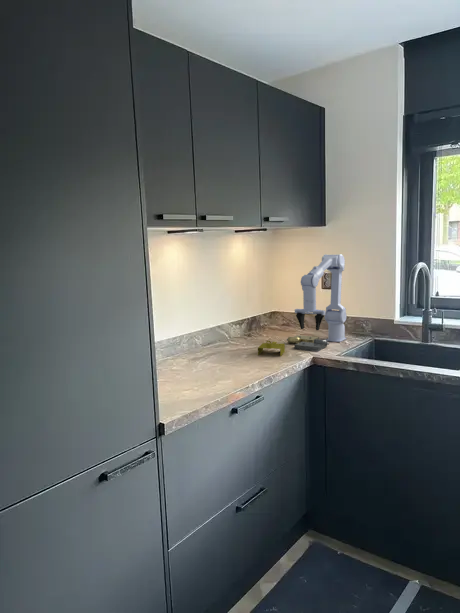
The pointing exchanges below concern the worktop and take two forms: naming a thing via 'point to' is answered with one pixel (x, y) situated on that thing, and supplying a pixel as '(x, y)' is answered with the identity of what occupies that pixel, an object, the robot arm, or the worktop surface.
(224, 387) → the worktop surface
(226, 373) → the worktop surface
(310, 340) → the brass plate
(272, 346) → the bracket
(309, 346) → the fixed leaf
